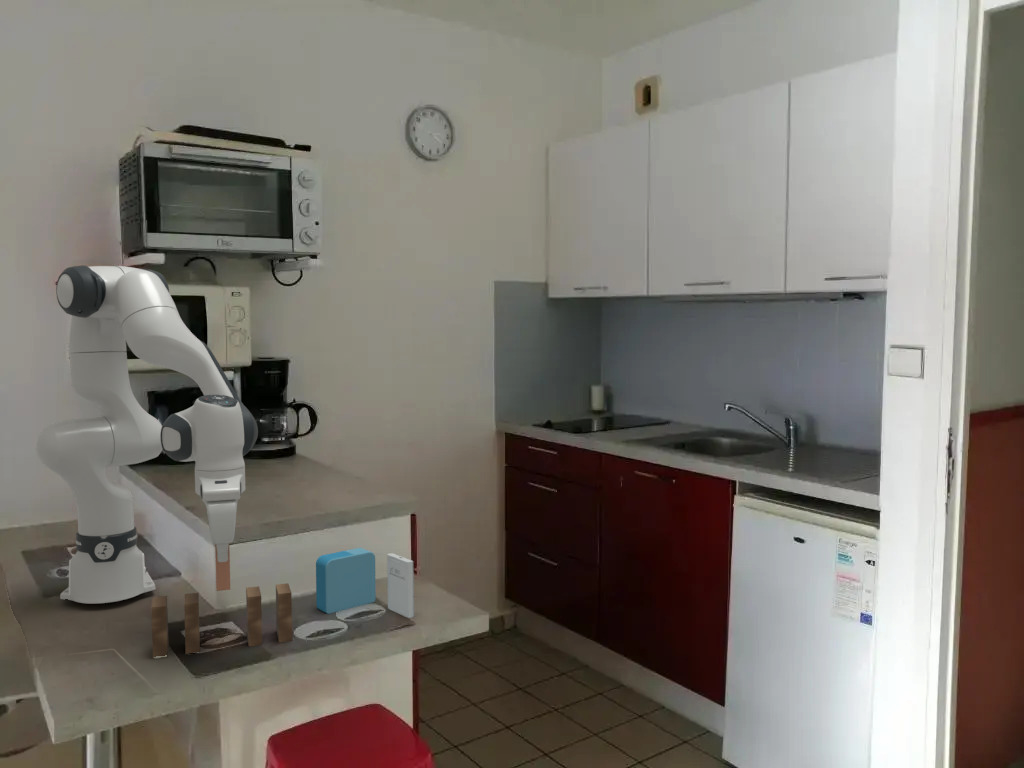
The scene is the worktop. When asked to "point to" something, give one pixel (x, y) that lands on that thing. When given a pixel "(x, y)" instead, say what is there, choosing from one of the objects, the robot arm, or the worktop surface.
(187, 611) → the domino
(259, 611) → the domino
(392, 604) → the hard drive
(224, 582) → the domino
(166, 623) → the domino
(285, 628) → the domino
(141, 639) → the worktop surface
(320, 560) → the blue rounded box
